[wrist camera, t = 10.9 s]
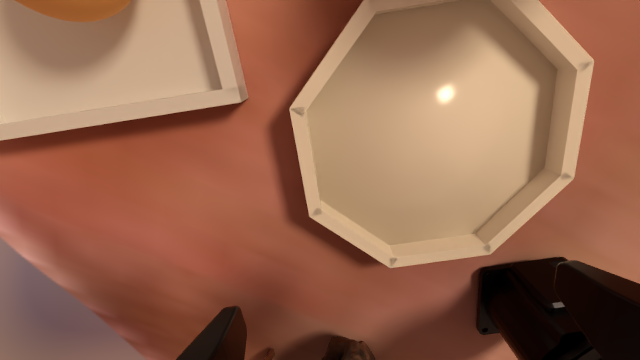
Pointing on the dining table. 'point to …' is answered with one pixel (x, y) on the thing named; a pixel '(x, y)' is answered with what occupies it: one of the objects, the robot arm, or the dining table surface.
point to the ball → (76, 8)
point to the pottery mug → (342, 350)
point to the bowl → (440, 125)
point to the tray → (115, 65)
